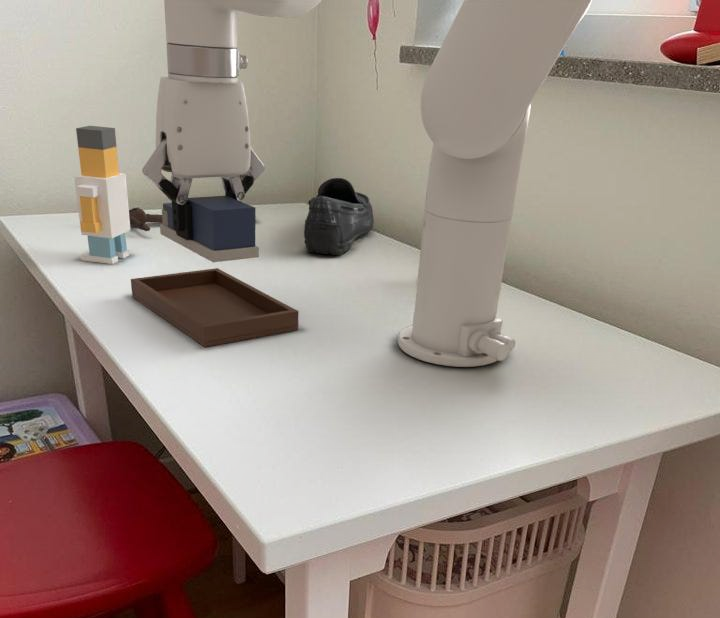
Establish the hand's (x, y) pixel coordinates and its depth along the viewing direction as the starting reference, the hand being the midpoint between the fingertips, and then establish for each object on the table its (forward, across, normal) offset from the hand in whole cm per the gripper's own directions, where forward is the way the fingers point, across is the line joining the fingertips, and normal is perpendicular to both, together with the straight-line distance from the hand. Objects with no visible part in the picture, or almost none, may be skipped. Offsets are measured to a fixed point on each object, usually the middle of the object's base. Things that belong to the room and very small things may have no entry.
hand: (207, 233), depth 93 cm
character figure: (+10, +2, -30) cm, 32 cm away
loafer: (+10, -39, -26) cm, 48 cm away
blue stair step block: (+1, 0, 0) cm, 1 cm away
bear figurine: (+10, -11, -47) cm, 49 cm away
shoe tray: (+10, 0, 0) cm, 10 cm away
